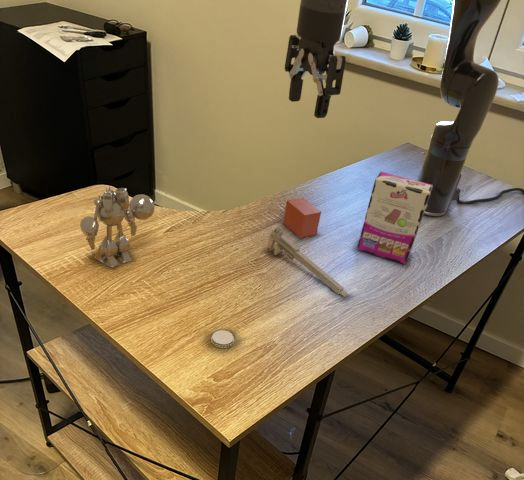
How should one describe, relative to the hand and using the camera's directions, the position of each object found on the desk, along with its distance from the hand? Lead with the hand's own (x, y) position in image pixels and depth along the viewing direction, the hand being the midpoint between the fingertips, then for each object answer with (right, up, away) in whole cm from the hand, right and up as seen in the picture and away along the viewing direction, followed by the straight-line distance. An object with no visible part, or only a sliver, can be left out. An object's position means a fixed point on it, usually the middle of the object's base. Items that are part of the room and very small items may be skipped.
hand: (306, 108), depth 97 cm
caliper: (+1, -29, +10) cm, 30 cm away
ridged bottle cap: (-15, -43, -8) cm, 46 cm away
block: (0, -17, +23) cm, 28 cm away
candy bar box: (+18, -23, +19) cm, 35 cm away
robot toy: (-35, -26, +7) cm, 44 cm away
